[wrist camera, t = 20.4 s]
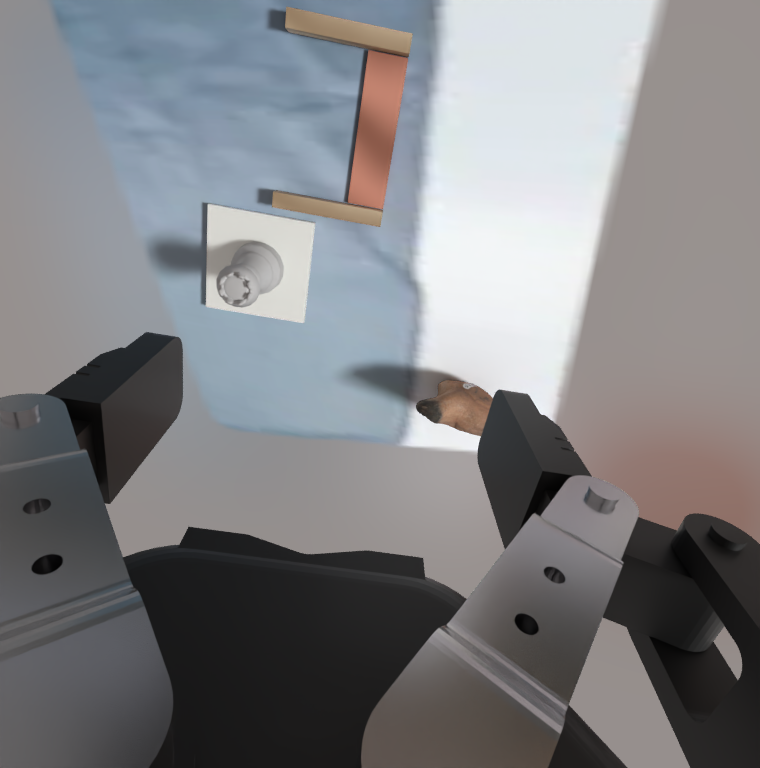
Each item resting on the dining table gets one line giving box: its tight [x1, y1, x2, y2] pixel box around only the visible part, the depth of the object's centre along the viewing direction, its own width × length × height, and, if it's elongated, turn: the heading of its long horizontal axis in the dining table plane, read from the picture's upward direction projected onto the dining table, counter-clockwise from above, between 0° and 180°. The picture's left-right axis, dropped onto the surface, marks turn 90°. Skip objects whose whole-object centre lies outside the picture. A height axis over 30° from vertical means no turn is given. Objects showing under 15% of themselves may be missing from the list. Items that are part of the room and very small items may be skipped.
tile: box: [206, 203, 316, 323], centre depth 42 cm, size 9×9×1 cm
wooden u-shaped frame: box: [272, 7, 413, 227], centre depth 37 cm, size 13×9×2 cm
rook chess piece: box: [216, 241, 284, 308], centre depth 38 cm, size 4×4×8 cm
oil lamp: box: [416, 380, 493, 436], centre depth 44 cm, size 9×4×8 cm, turn 68°
